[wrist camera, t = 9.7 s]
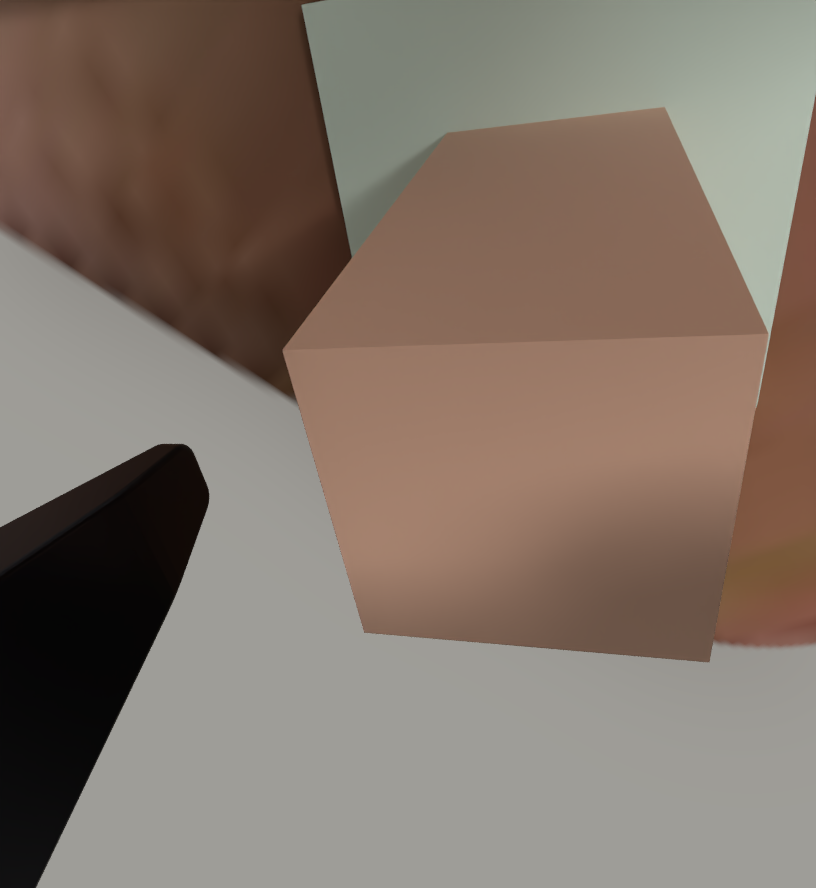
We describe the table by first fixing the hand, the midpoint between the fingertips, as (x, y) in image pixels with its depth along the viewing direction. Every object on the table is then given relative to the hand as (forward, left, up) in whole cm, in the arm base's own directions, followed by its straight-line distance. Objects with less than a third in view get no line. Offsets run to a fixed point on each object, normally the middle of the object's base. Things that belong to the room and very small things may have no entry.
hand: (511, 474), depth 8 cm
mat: (0, 0, -9) cm, 9 cm away
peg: (0, 0, -9) cm, 9 cm away
